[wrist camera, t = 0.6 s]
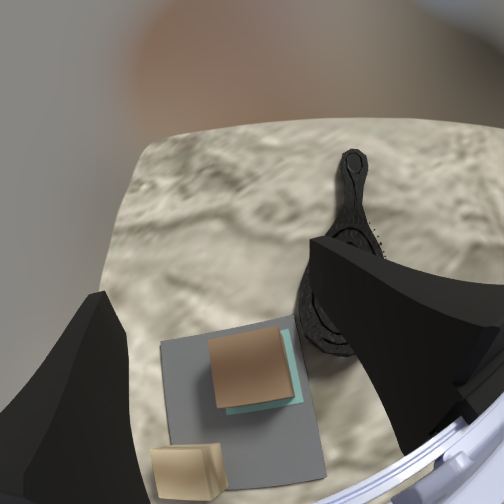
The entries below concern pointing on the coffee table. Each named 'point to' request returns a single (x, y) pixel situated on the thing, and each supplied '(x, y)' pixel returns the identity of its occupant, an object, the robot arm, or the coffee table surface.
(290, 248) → the coffee table surface
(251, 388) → the walnut block
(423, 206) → the coffee table surface
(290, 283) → the coffee table surface
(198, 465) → the birch block
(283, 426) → the mat
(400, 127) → the coffee table surface
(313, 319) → the hairbrush
